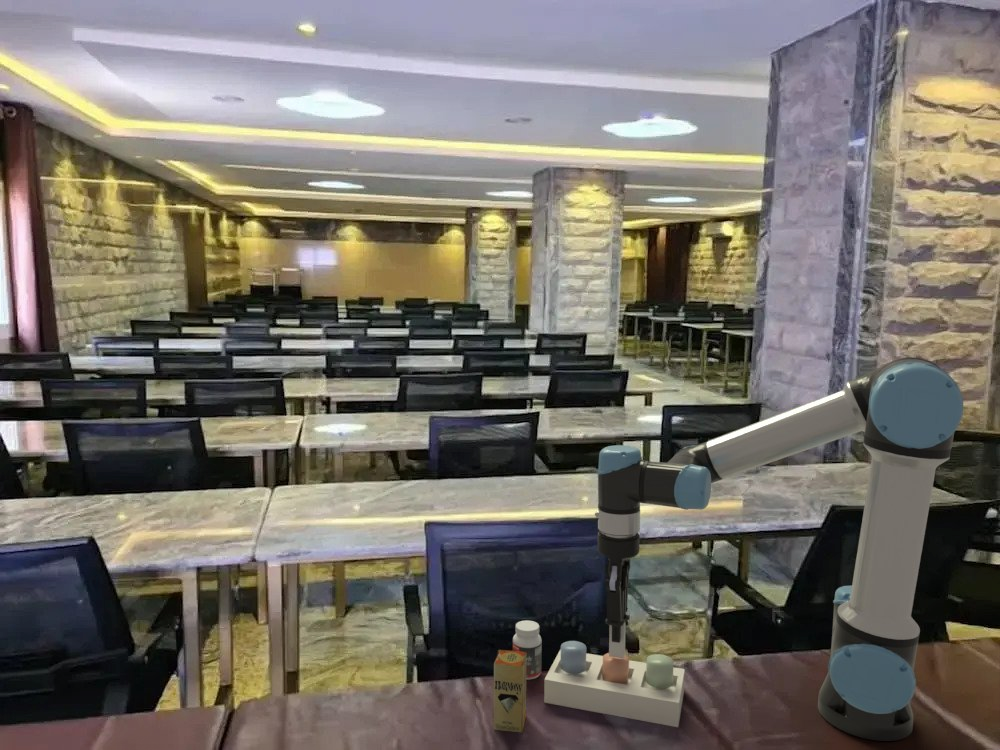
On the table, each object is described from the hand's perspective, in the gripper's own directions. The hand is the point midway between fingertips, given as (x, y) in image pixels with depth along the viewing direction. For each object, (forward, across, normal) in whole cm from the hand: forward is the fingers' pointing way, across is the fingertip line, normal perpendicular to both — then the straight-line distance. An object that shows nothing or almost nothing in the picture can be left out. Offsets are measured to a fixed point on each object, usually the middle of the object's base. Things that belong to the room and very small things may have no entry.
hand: (617, 655), depth 136 cm
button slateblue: (+4, 0, -8) cm, 9 cm away
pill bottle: (+8, -3, -18) cm, 20 cm away
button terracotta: (+5, 0, 0) cm, 5 cm away
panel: (+8, 0, 0) cm, 8 cm away
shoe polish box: (+8, +14, -16) cm, 23 cm away
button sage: (+4, 0, +8) cm, 9 cm away
